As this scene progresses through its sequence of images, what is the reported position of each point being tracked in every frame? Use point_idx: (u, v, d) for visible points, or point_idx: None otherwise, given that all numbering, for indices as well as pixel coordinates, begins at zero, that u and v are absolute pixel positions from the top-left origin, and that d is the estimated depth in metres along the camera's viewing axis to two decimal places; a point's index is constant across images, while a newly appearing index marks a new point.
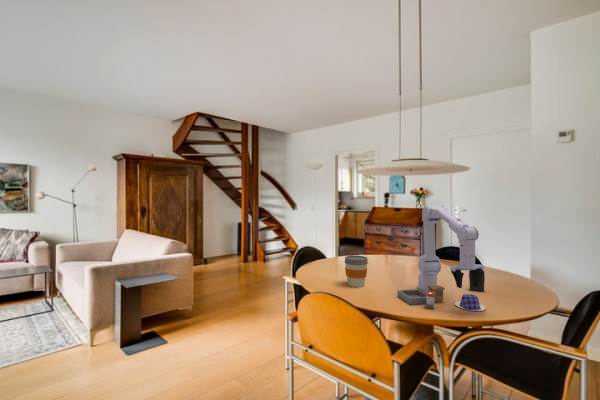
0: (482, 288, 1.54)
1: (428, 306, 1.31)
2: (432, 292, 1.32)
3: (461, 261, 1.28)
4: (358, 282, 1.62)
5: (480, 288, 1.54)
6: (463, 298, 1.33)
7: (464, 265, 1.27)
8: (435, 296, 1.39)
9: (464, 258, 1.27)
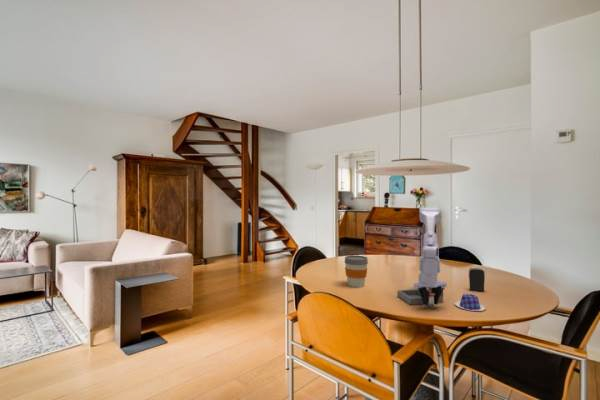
0: (482, 288, 1.54)
1: (428, 306, 1.31)
2: (432, 292, 1.32)
3: (424, 279, 1.32)
4: (358, 282, 1.62)
5: (480, 288, 1.54)
6: (463, 298, 1.33)
7: (426, 283, 1.30)
8: None
9: (426, 276, 1.30)
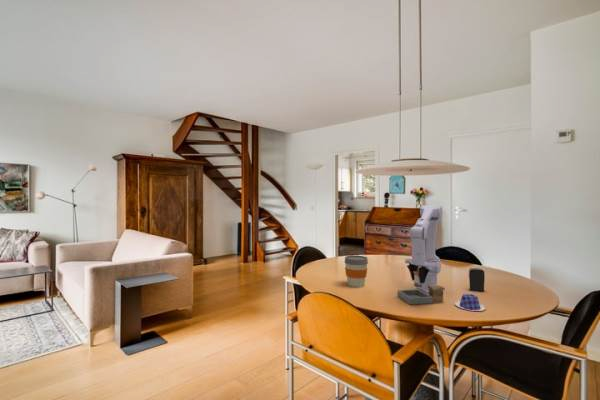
0: (482, 288, 1.54)
1: (414, 283, 1.40)
2: (418, 271, 1.38)
3: None
4: (358, 282, 1.62)
5: (480, 288, 1.54)
6: (463, 298, 1.33)
7: None
8: (435, 296, 1.39)
9: None
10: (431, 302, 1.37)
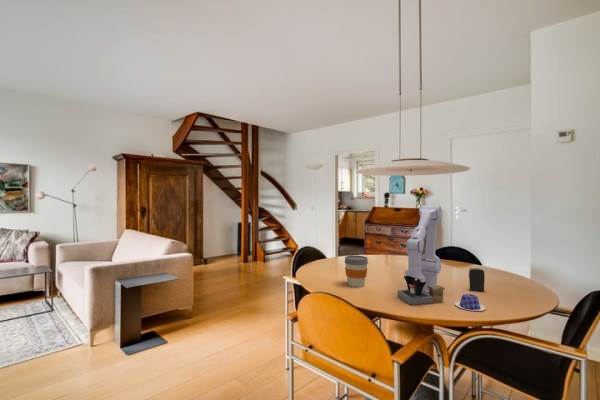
0: (482, 288, 1.54)
1: None
2: (413, 285, 1.41)
3: None
4: (358, 282, 1.62)
5: (480, 288, 1.54)
6: (464, 298, 1.33)
7: None
8: (435, 296, 1.39)
9: None
10: (431, 302, 1.37)
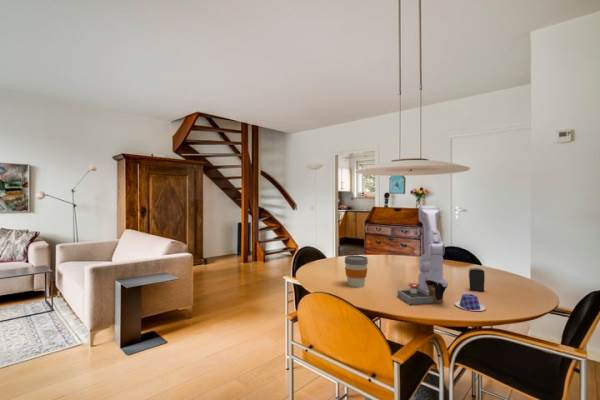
0: (482, 288, 1.54)
1: None
2: (413, 285, 1.41)
3: None
4: (358, 282, 1.62)
5: (480, 288, 1.54)
6: (464, 298, 1.32)
7: None
8: (435, 296, 1.38)
9: None
10: (431, 302, 1.37)
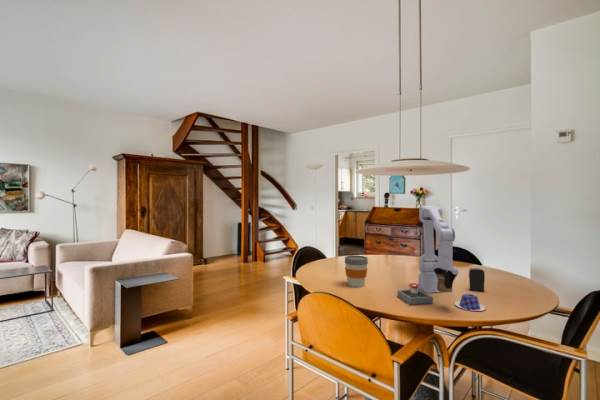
0: (482, 288, 1.54)
1: None
2: (413, 285, 1.41)
3: None
4: (358, 282, 1.62)
5: (480, 288, 1.54)
6: (465, 299, 1.32)
7: None
8: (444, 286, 1.30)
9: None
10: (431, 302, 1.37)
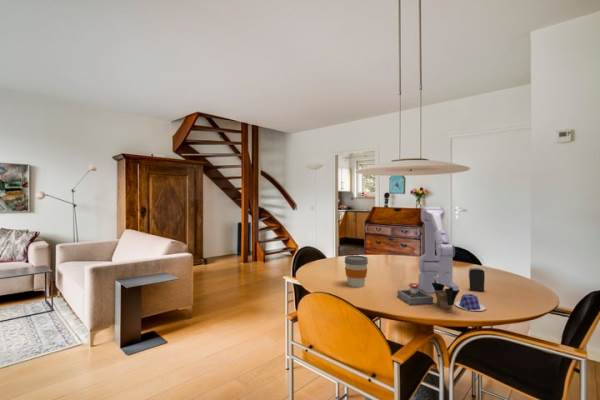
0: (482, 288, 1.54)
1: None
2: (413, 285, 1.41)
3: None
4: (358, 282, 1.62)
5: (480, 288, 1.54)
6: (465, 299, 1.32)
7: None
8: (444, 302, 1.31)
9: None
10: (431, 302, 1.37)
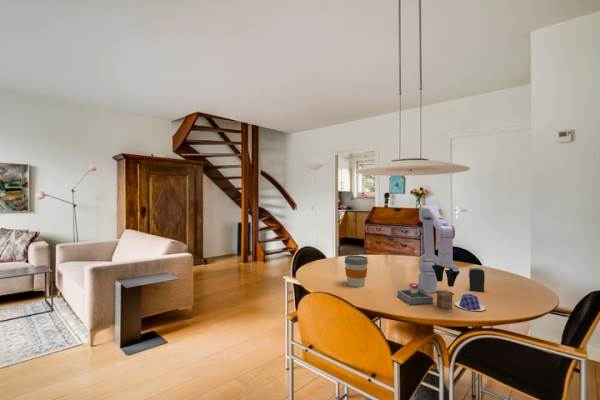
0: (482, 288, 1.54)
1: None
2: (413, 285, 1.41)
3: None
4: (358, 282, 1.62)
5: (480, 288, 1.54)
6: (465, 299, 1.32)
7: None
8: (444, 302, 1.31)
9: None
10: (431, 302, 1.37)
